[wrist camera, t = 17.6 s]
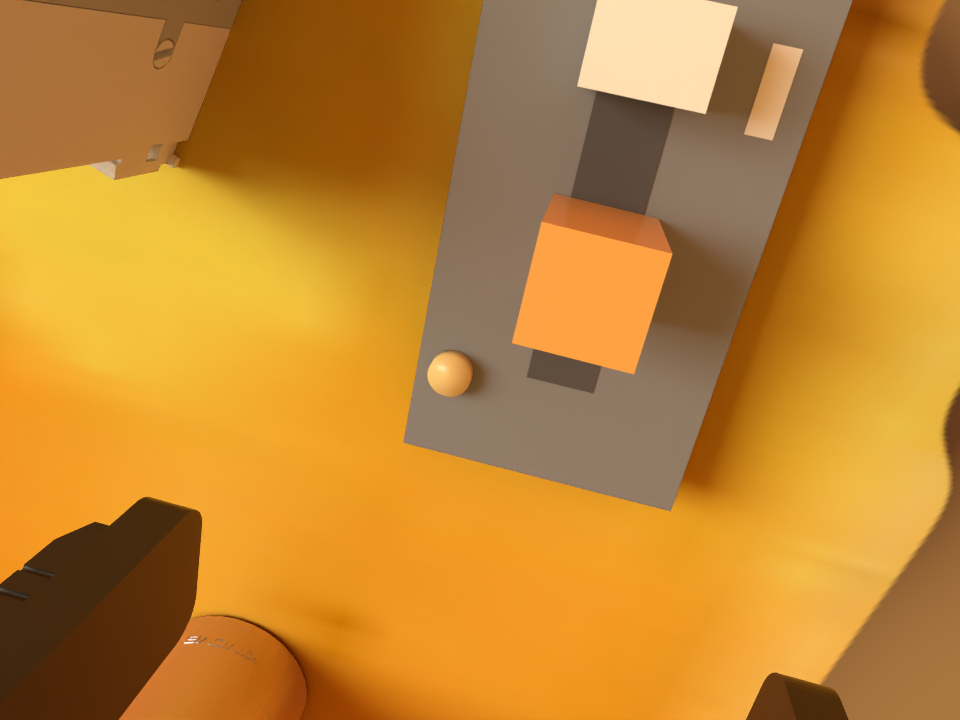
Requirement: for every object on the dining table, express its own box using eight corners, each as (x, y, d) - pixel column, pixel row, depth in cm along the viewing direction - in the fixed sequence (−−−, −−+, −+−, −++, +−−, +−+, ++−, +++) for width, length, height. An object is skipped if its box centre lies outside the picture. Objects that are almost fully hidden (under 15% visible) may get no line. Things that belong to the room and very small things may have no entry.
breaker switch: (692, 109, 25) (705, 114, 22) (580, 85, 26) (577, 86, 22) (719, 16, 24) (737, 6, 21) (602, -8, 25) (602, -22, 21)
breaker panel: (665, 476, 34) (672, 521, 31) (419, 414, 35) (399, 451, 32) (891, -180, 24) (939, -224, 21) (542, -245, 25) (532, -297, 22)
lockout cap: (627, 317, 29) (634, 374, 23) (529, 293, 29) (511, 343, 23) (658, 218, 27) (672, 253, 22) (553, 193, 27) (541, 221, 22)
